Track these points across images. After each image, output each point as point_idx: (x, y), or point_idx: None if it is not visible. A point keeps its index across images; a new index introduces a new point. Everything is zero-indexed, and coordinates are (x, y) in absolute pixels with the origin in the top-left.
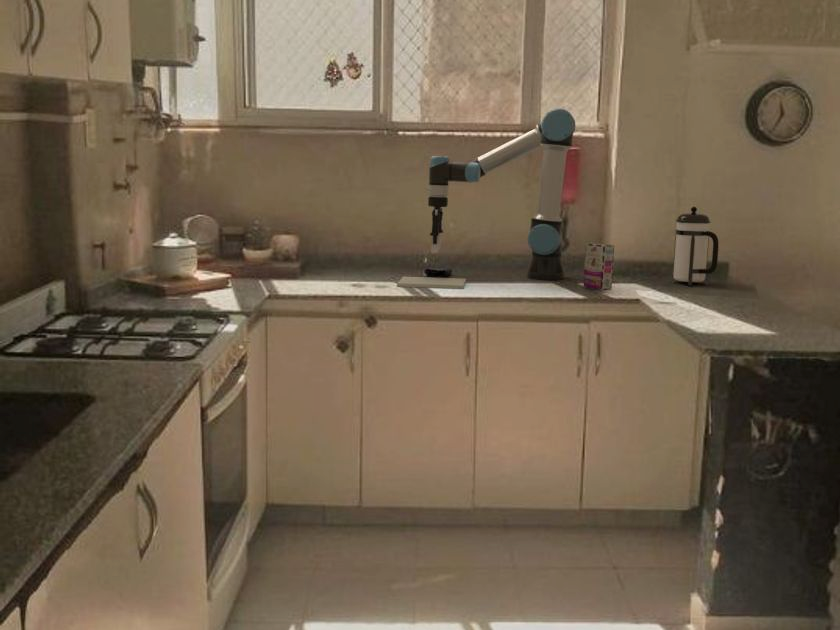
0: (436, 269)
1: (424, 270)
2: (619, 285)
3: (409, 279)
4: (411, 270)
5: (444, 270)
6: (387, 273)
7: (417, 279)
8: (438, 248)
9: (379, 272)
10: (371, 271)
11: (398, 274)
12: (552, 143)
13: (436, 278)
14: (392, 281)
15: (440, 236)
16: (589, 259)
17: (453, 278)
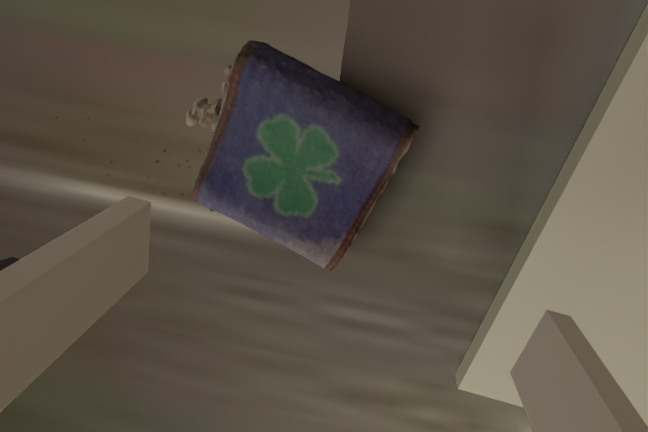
0: (279, 179)
1: (324, 267)
2: None
3: None
4: (23, 252)
5: (227, 102)
6: (187, 383)
7: (613, 349)
8: (142, 229)
9: (156, 404)
10: (127, 424)
11: (218, 347)
12: None
13: (590, 228)
14: (513, 428)
15: (11, 306)
16: None
17: (626, 96)
